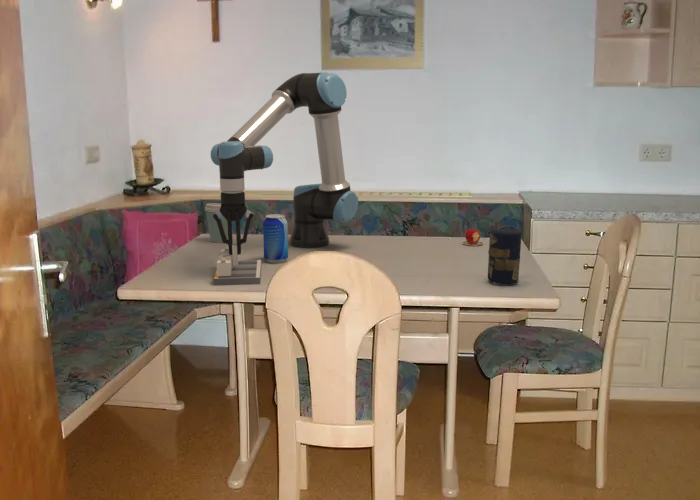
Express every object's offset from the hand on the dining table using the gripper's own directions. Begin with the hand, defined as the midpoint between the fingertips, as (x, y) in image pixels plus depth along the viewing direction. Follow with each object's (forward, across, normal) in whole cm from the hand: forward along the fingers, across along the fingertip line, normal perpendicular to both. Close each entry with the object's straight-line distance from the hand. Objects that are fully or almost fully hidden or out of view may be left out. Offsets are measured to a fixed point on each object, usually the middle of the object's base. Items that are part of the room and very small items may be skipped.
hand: (235, 264), depth 222 cm
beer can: (+4, -13, -18) cm, 22 cm away
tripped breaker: (+1, +3, 0) cm, 3 cm away
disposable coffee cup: (+4, +9, -53) cm, 54 cm away
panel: (+4, -1, 0) cm, 4 cm away
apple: (+4, -89, -38) cm, 97 cm away
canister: (+4, -83, +17) cm, 85 cm away
